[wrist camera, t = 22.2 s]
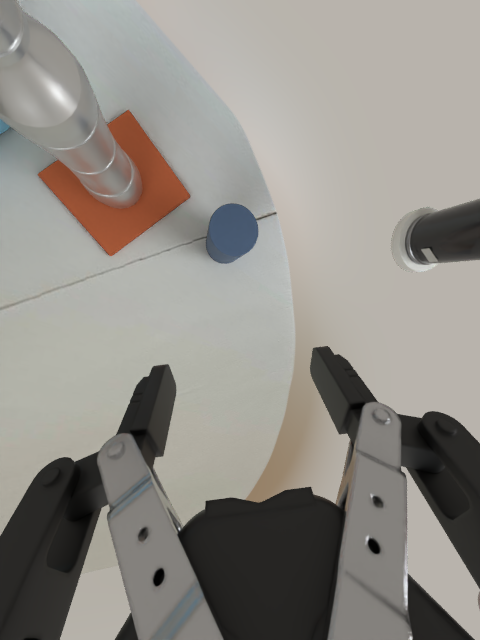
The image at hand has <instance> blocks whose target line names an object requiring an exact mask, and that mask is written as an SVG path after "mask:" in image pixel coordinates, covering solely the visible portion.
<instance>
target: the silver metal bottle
mask: <svg viewBox="0 0 480 640" xmlns="http://www.w3.org/2000/svg"><path fill="white" fill-rule="evenodd" d="M0 119H1V120H2V121H3V122H5V123H6V124H7V125H9V126H10V127H11V128H13V129H14V130H15V131H17V132H18V133H20V134H21V135H22V136H24V137H25V138H27V139H28V140H30V141H31V142H33V143H34V144H36V145H38V146H39V147H41V148H42V149H44V150H45V151H47V152H48V153H50V154H52V155H53V156H54V157H55V158H57V159H58V160H59V161H61V162H62V163H63V164H64V165H66V166H67V167H68V168H69V169H70V170H71V171H72V172H73V173H74V174H75V175H76V176H77V177H78V178H79V180H80V182H81V183H82V184H83V186H84V187H85V188H86V190H87V191H88V192H89V193H90V194H91V195H92V196H93V197H94V198H95V199H97V200H98V201H99V202H101V203H103V204H105V205H108V206H110V207H113V208H119V209H122V208H128V207H131V206H133V205H134V204H135V203H136V202H137V201H138V200H139V199H140V196H141V194H142V181H141V177H140V173H139V170H138V168H137V166H136V165H135V163H134V162H133V161H132V159H131V158H130V157H129V156H128V155H127V154H126V153H125V151H123V150H122V149H121V147H120V146H119V144H118V143H117V142H116V140H115V139H114V138H113V136H112V134H111V132H110V130H109V128H108V126H107V124H106V122H105V120H104V118H103V115H102V112H101V110H100V107H99V104H98V102H97V99H96V97H95V94H94V91H93V89H92V87H91V84H90V82H89V80H88V78H87V76H86V74H85V72H84V69H83V68H82V66H81V65H80V63H79V61H78V60H77V58H76V57H75V56H74V55H73V54H72V53H71V51H70V50H69V49H68V48H67V47H66V46H65V45H64V43H63V42H62V41H61V40H60V39H59V38H58V37H57V36H56V35H55V34H54V33H53V32H52V31H51V30H49V29H48V28H47V27H46V26H44V25H43V24H41V23H40V22H38V21H37V20H36V19H34V18H33V17H31V16H30V15H28V14H26V13H25V12H23V10H22V8H21V6H20V5H19V3H18V2H17V0H0Z"/></svg>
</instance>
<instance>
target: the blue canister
mask: <svg viewBox="0 0 480 640" xmlns="http://www.w3.org/2000/svg"><path fill="white" fill-rule="evenodd" d="M257 237H258V225H257V222H256V219H255V217H254V216H253V214H252V213H251V212H250V211H249V210H248V209H247V208H245V207H244V206H242V205H239V204H226V205H223V206H221V207H220V208H218V209H217V210H216V211H215V212H214V214H213V215H212V217H211V220H210V223H209V229H208V234H207V239H206V248H207V251H208V253H209V255H210V256H211V257H212V258H213V259H214V260H215V261H217V262H219V263H224V264H225V263H231V262H233V261H235V260H236V259H238V258H239V257H241V256H243V255H244V254H246V253H247V252H249V251H250V250H251V249H252V248H253V246H254V245H255V243H256V241H257Z"/></svg>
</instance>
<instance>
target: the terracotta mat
mask: <svg viewBox="0 0 480 640" xmlns="http://www.w3.org/2000/svg"><path fill="white" fill-rule="evenodd" d="M107 126H108V128H109V130H110V132H111V134H112V136H113V138H114V139H115V140H116V142H117V143H118V144H119V146H120V147H121V149H122V150H123V151H125V153H126V154H127V155H128V156H129V157H130V158H131V159H132V161H133V162H134V163H135V165H136V166H137V168H138V170H139V173H140V177H141V181H142V194H141V196H140V199H139V200H138V201H137V202H136V203H135V204H134V205H133V206H131V207H128V208H122V209H119V208H113V207H110V206H108V205H105V204H103V203H101V202H99V201H98V200H97V199H95V198H94V197H93V196H92V195H91V194H90V193H89V192H88V191H87V190H86V188H85V187H84V186H83V184H82V183H81V182H80V180H79V178H78V177H77V176H76V175H75V174H74V173H73V172H72V171H71V170H70V169H69V168H68V167H67V166H66V165H64V164H63V163H62V162H61V161H59V160H57V161H56V162H54V163H53V164H51V165H50V166H49V167H47V168H46V169H44V170H43V171H42V172H40V173H39V174H38V176H39V177H40V178H41V179H42V180H43V181H44V182H45V184H46V185H47V186H48V187H49V188H50V189H51V190H52V191H53V193H54V194H55V195H56V196H57V197H58V198H59V199H60V200H61V202H62V203H63V204H64V205H65V206H66V207H67V208H68V209H69V210H70V212H71V213H72V214H73V215H74V216H75V217H76V218H77V219H78V221H79V222H80V223H81V224H82V225H83V226H84V227H85V228H86V230H87V231H88V232H89V233H90V234H91V235H92V236H93V237H94V239H95V240H96V241H97V242H98V243H99V244H100V245H101V246H102V248H103V249H104V250H105V251H106V252H107V253H108V254H109V255H110V256H112V255H114V254H115V253H116V252H118V251H119V250H120V249H122V248H123V247H124V246H126V245H127V244H128V243H130V242H131V241H132V240H134V239H135V238H136V237H138V236H139V235H140V234H142V233H143V232H144V231H146V230H147V229H148V228H150V227H151V226H152V225H154V224H155V223H156V222H158V221H159V220H160V219H162V218H163V217H164V216H166V215H167V214H168V213H170V212H171V211H172V210H174V209H175V208H176V207H178V206H179V205H180V204H182V203H183V202H184V201H186V200H187V199H188V198H190V195H189V193H188V192H187V191H186V189H185V188H184V186H183V185H182V184H181V182H180V181H179V179H178V178H177V177H176V175H175V174H174V172H173V171H172V170H171V168H170V167H169V165H168V164H167V163H166V161H165V160H164V158H163V157H162V156H161V154H160V153H159V151H158V150H157V149H156V147H155V146H154V144H153V143H152V142H151V140H150V139H149V137H148V136H147V135H146V133H145V132H144V130H143V129H142V128H141V126H140V125H139V124H138V122H137V121H136V119H135V118H134V117H133V115H132V114H131V112H130V111H129V110H127V111H126V112H125V113H123V114H122V115H120V116H119V117H118V118H116V119H115V120H113V121H112V122H110V123H109V124H108V125H107Z"/></svg>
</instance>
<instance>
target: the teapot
mask: <svg viewBox="0 0 480 640" xmlns="http://www.w3.org/2000/svg"><path fill="white" fill-rule="evenodd" d="M9 127H10V126H9V125H7V124H6V123H5V122H3V121H2V120H1V119H0V134H1V133H3V132H5V131H6V130H8V129H9Z"/></svg>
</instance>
